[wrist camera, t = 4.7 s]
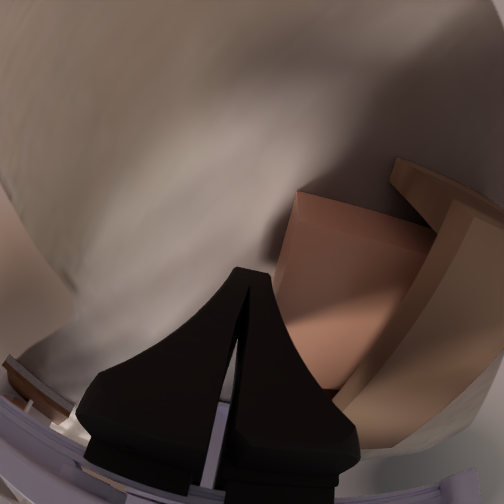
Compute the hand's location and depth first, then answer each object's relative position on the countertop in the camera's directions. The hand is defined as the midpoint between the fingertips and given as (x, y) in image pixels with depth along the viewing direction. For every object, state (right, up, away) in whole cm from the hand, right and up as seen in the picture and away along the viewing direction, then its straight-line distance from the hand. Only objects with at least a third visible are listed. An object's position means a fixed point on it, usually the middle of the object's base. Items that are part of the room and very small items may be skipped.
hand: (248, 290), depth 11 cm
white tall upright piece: (-30, -18, +17) cm, 39 cm away
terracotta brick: (+5, 0, +2) cm, 5 cm away
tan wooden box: (+7, -1, +1) cm, 7 cm away
